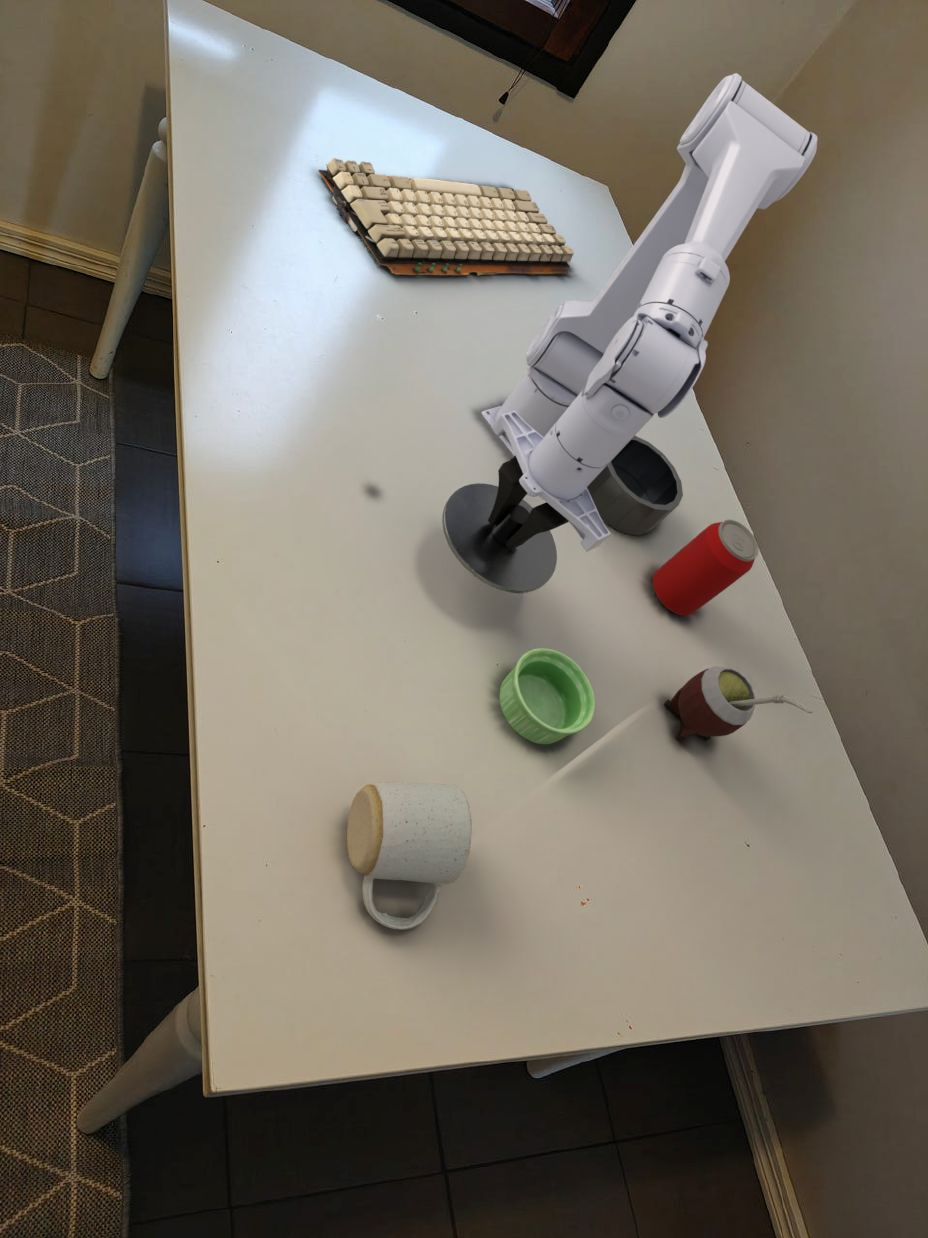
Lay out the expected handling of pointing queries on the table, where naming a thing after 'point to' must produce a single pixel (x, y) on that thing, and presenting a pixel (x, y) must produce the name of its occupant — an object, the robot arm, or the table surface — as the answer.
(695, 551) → the beverage can
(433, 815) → the ceramic mug
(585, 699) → the ramekin
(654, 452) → the tin
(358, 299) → the table surface
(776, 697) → the mate gourd
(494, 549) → the tin lid
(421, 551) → the table surface
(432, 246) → the mechanical keyboard
